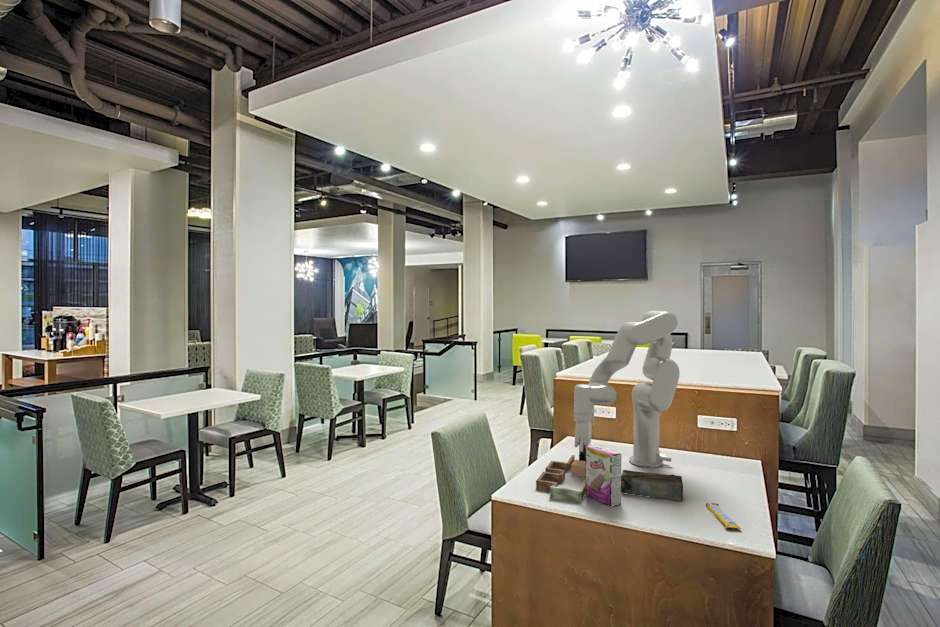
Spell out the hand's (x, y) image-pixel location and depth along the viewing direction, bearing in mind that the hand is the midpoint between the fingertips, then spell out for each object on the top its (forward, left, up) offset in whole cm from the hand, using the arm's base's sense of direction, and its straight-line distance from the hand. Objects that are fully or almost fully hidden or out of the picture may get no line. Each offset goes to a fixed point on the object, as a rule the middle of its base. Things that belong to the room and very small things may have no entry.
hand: (583, 463), depth 191 cm
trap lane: (+3, +16, -1) cm, 16 cm away
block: (0, +8, -1) cm, 8 cm away
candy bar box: (-11, +30, -1) cm, 32 cm away
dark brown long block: (-25, +18, -1) cm, 31 cm away
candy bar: (-45, +30, -2) cm, 55 cm away
